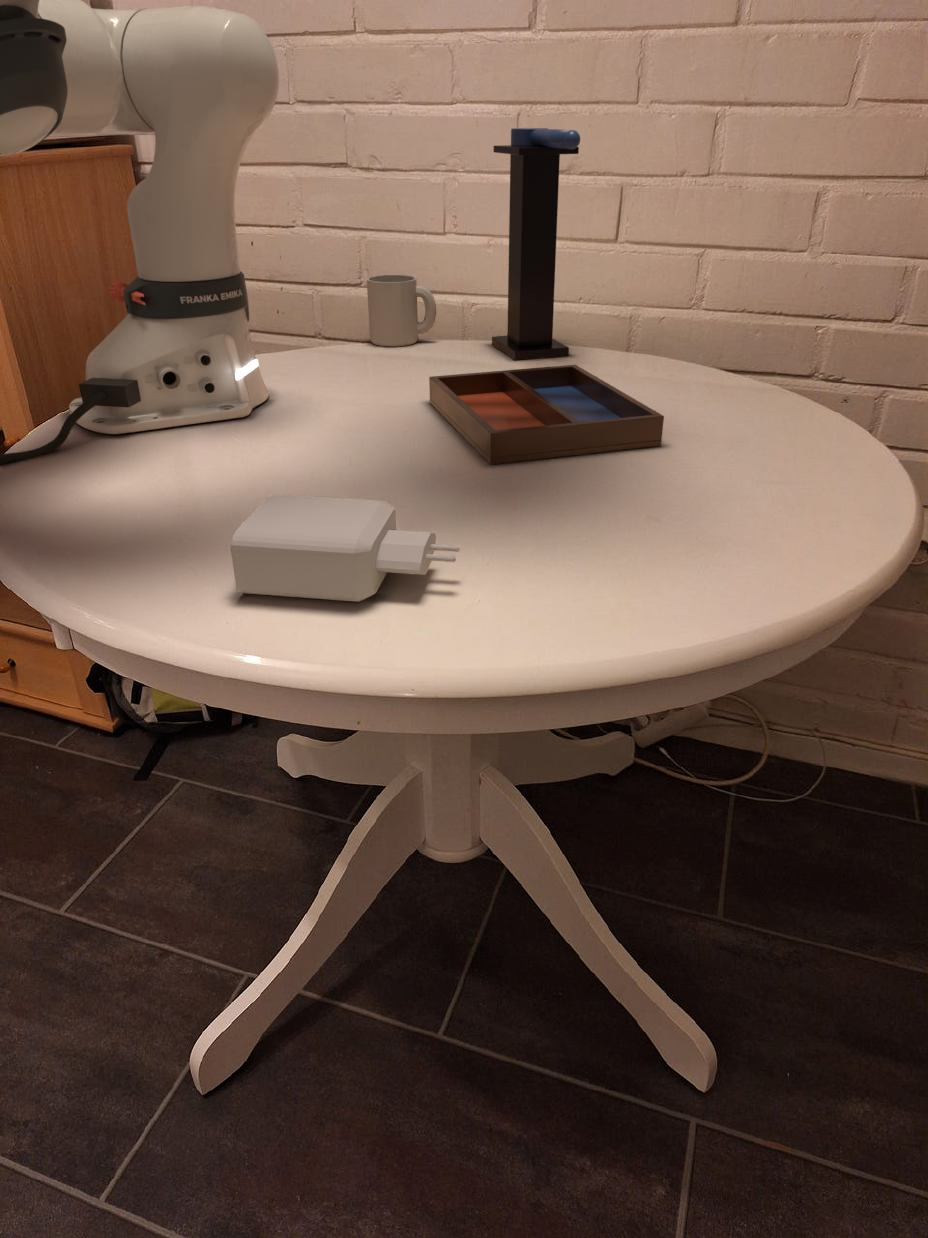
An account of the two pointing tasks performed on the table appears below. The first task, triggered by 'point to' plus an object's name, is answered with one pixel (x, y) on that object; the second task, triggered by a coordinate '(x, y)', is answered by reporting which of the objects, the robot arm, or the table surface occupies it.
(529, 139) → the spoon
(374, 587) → the charger
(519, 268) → the spoon stand
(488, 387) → the sorting tray
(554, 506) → the table surface
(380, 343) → the cup
